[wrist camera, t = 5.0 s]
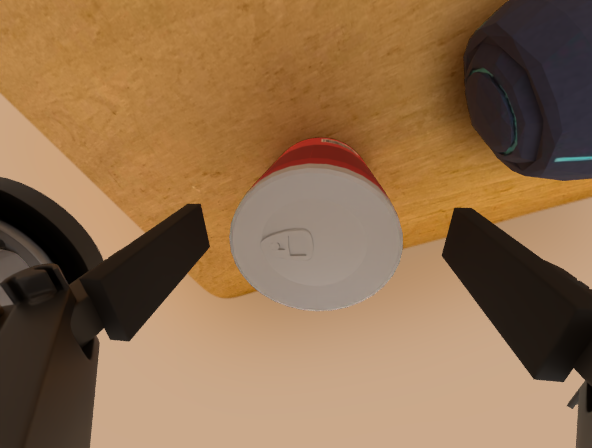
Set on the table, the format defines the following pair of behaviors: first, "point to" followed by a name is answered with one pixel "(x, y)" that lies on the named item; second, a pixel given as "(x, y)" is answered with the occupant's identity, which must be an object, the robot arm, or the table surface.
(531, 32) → the portable speaker
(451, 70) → the table surface
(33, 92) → the table surface
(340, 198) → the canned food
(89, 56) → the table surface
